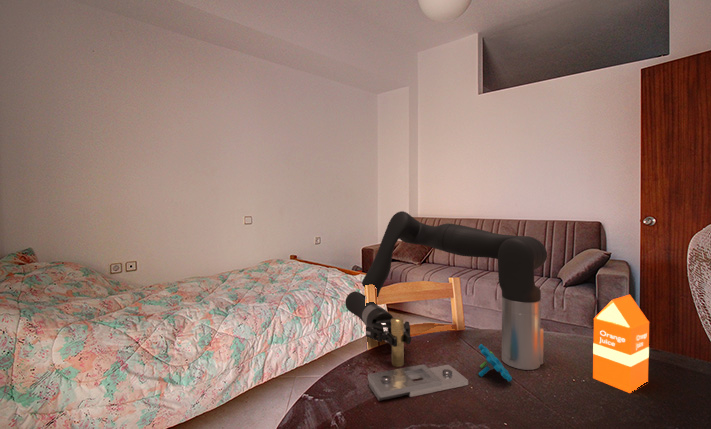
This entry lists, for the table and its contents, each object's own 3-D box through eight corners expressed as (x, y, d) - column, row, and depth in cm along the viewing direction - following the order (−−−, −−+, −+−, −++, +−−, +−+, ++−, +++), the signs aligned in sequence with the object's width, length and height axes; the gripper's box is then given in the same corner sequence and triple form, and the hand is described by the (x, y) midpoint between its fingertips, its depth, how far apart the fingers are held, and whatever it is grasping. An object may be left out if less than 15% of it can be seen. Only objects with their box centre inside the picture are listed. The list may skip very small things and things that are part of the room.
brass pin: (400, 360, 93) (400, 316, 92) (405, 365, 90) (405, 320, 89) (389, 361, 92) (389, 317, 91) (394, 367, 89) (394, 321, 88)
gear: (517, 384, 77) (483, 348, 79) (498, 401, 78) (465, 365, 80) (510, 367, 87) (480, 336, 90) (493, 382, 88) (464, 351, 91)
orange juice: (648, 382, 80) (650, 298, 79) (630, 393, 75) (632, 304, 75) (610, 368, 86) (611, 290, 86) (591, 377, 82) (593, 295, 81)
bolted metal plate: (448, 369, 87) (448, 357, 87) (468, 385, 80) (468, 372, 80) (367, 384, 81) (367, 371, 80) (380, 403, 73) (380, 389, 73)
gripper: (355, 310, 102) (376, 331, 85) (398, 305, 106) (426, 324, 90) (355, 335, 102) (377, 360, 85) (398, 329, 106) (426, 352, 90)
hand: (402, 341), depth 88 cm, fingers closed on brass pin, 3 cm apart
